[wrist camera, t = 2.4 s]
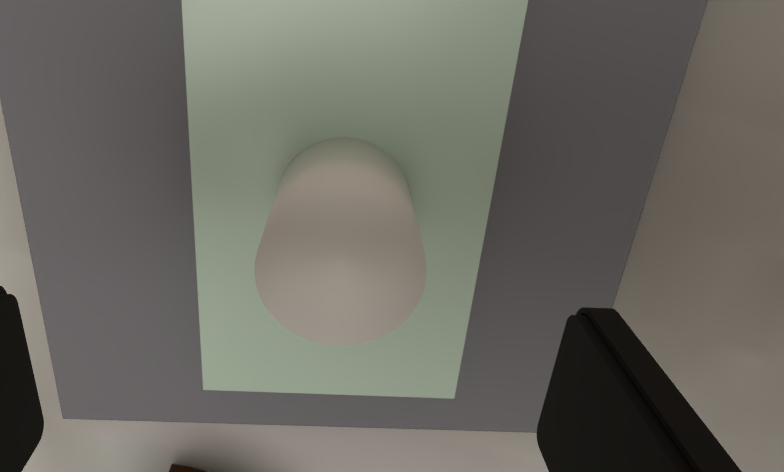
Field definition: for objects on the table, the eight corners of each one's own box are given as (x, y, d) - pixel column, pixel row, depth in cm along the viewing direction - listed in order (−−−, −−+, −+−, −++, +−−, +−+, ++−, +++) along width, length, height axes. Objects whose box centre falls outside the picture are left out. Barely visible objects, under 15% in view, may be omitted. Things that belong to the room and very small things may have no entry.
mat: (737, -137, 16) (751, -141, 15) (568, 423, 24) (573, 433, 24) (-52, -242, 14) (-68, -251, 13) (69, 407, 22) (63, 418, 22)
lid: (528, -57, 16) (610, -65, 11) (450, 380, 22) (478, 503, 17) (186, -97, 15) (101, -125, 10) (209, 371, 21) (165, 497, 16)
